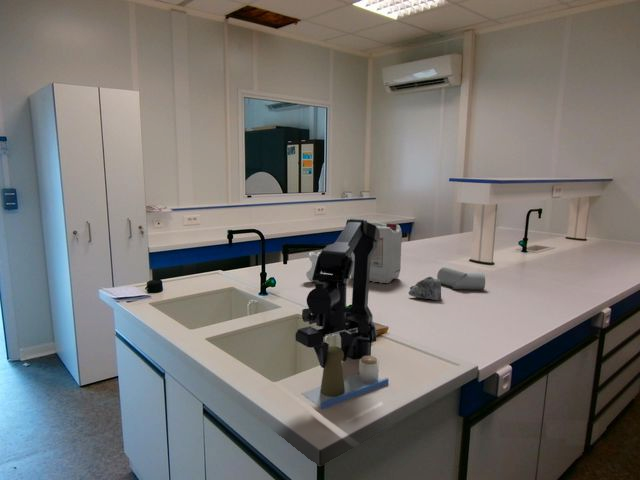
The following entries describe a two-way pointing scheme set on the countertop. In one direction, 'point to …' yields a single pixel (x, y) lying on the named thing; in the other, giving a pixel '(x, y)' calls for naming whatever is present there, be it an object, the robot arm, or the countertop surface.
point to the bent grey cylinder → (462, 279)
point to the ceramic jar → (368, 369)
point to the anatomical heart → (313, 259)
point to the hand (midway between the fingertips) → (333, 364)
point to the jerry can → (385, 254)
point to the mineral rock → (427, 289)
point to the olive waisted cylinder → (333, 373)
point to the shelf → (351, 390)
